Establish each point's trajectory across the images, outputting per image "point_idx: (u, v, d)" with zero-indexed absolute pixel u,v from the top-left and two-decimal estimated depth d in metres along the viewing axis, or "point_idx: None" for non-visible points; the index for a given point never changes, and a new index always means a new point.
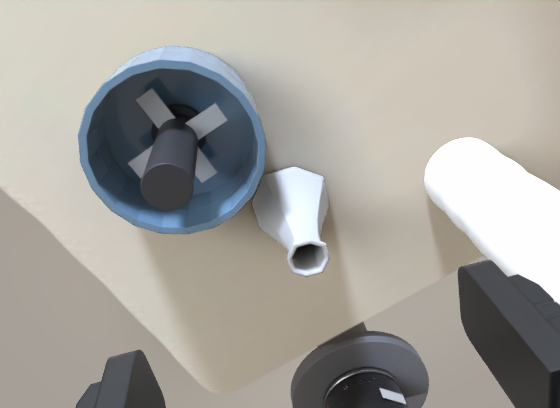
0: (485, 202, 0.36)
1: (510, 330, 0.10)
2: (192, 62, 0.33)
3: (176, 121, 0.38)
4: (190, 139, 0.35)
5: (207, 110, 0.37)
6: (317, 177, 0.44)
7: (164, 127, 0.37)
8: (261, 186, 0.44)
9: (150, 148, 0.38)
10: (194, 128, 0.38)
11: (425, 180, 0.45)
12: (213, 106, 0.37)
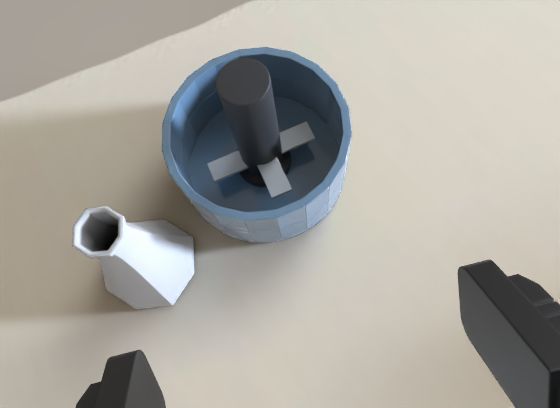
0: None
1: (510, 330, 0.10)
2: (344, 163, 0.33)
3: (280, 149, 0.37)
4: (267, 146, 0.34)
5: (286, 179, 0.36)
6: (174, 297, 0.37)
7: None
8: (181, 232, 0.39)
9: None
10: (270, 164, 0.36)
11: None
12: (289, 186, 0.36)
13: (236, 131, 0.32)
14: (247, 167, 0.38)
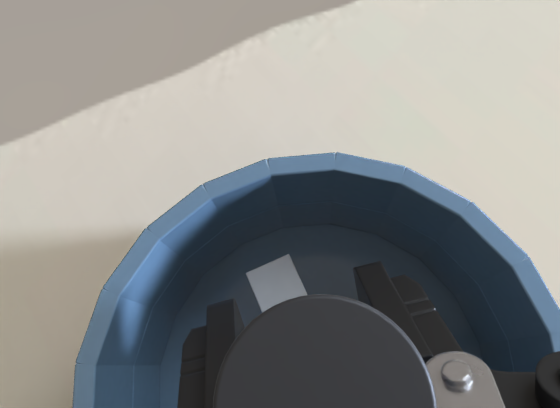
0: None
1: None
2: None
3: None
4: None
5: None
6: None
7: None
8: None
9: None
10: None
11: None
12: None
13: None
14: None
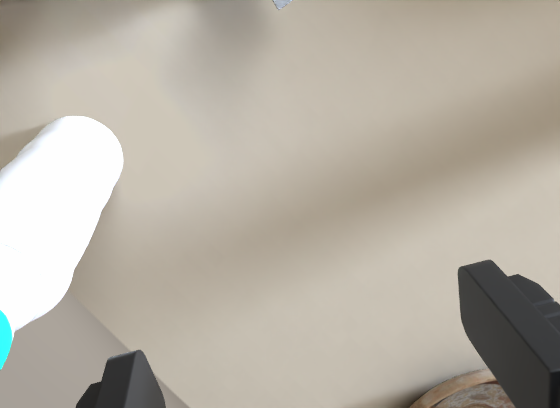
0: (64, 163, 0.32)
1: (510, 330, 0.10)
2: None
3: None
4: None
5: None
6: None
7: None
8: None
9: None
10: None
11: (67, 117, 0.40)
12: None
13: None
14: None
